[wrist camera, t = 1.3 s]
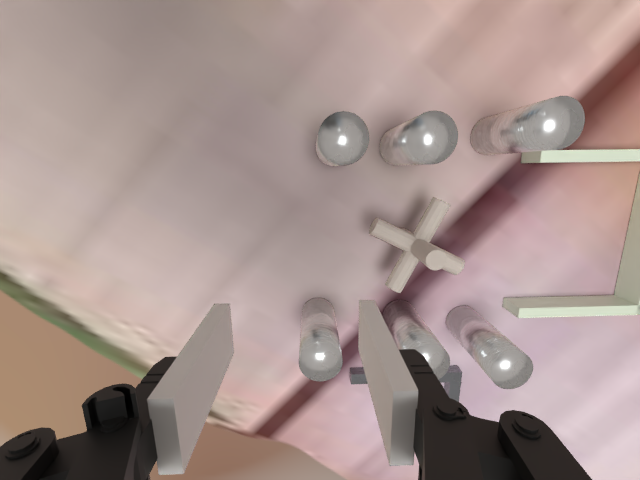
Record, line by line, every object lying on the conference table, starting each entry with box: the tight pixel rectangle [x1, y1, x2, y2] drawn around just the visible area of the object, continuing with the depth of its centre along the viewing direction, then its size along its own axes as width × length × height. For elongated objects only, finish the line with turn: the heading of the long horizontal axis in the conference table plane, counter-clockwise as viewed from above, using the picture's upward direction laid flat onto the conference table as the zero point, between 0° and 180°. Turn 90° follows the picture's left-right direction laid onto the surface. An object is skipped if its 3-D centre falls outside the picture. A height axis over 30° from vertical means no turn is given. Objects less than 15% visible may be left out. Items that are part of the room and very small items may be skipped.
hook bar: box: [350, 366, 462, 402], centre depth 40 cm, size 14×6×1 cm, turn 90°
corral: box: [503, 149, 640, 318], centre depth 36 cm, size 19×15×3 cm
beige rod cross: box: [369, 197, 465, 293], centre depth 32 cm, size 10×10×10 cm
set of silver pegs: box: [299, 96, 585, 389], centre depth 32 cm, size 26×23×10 cm
